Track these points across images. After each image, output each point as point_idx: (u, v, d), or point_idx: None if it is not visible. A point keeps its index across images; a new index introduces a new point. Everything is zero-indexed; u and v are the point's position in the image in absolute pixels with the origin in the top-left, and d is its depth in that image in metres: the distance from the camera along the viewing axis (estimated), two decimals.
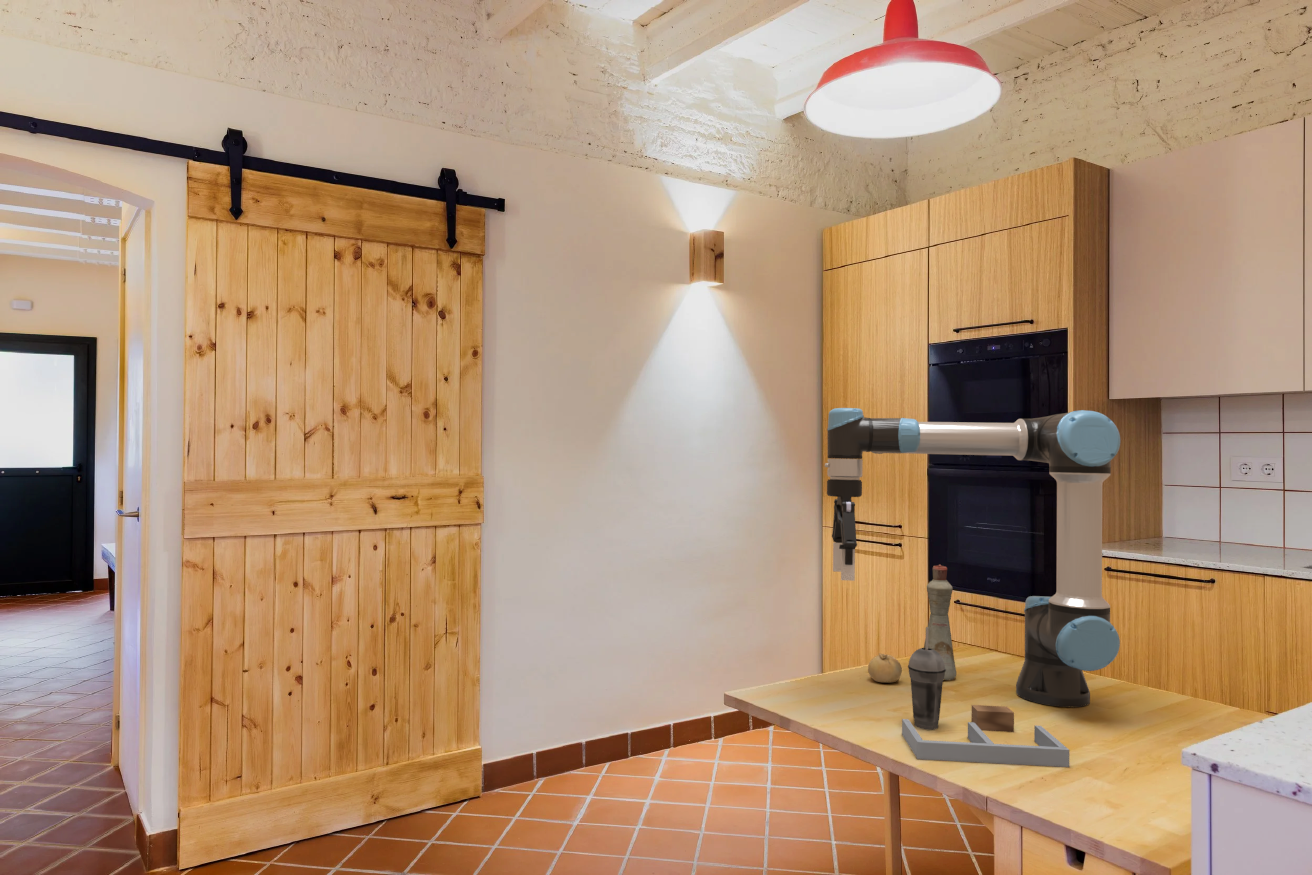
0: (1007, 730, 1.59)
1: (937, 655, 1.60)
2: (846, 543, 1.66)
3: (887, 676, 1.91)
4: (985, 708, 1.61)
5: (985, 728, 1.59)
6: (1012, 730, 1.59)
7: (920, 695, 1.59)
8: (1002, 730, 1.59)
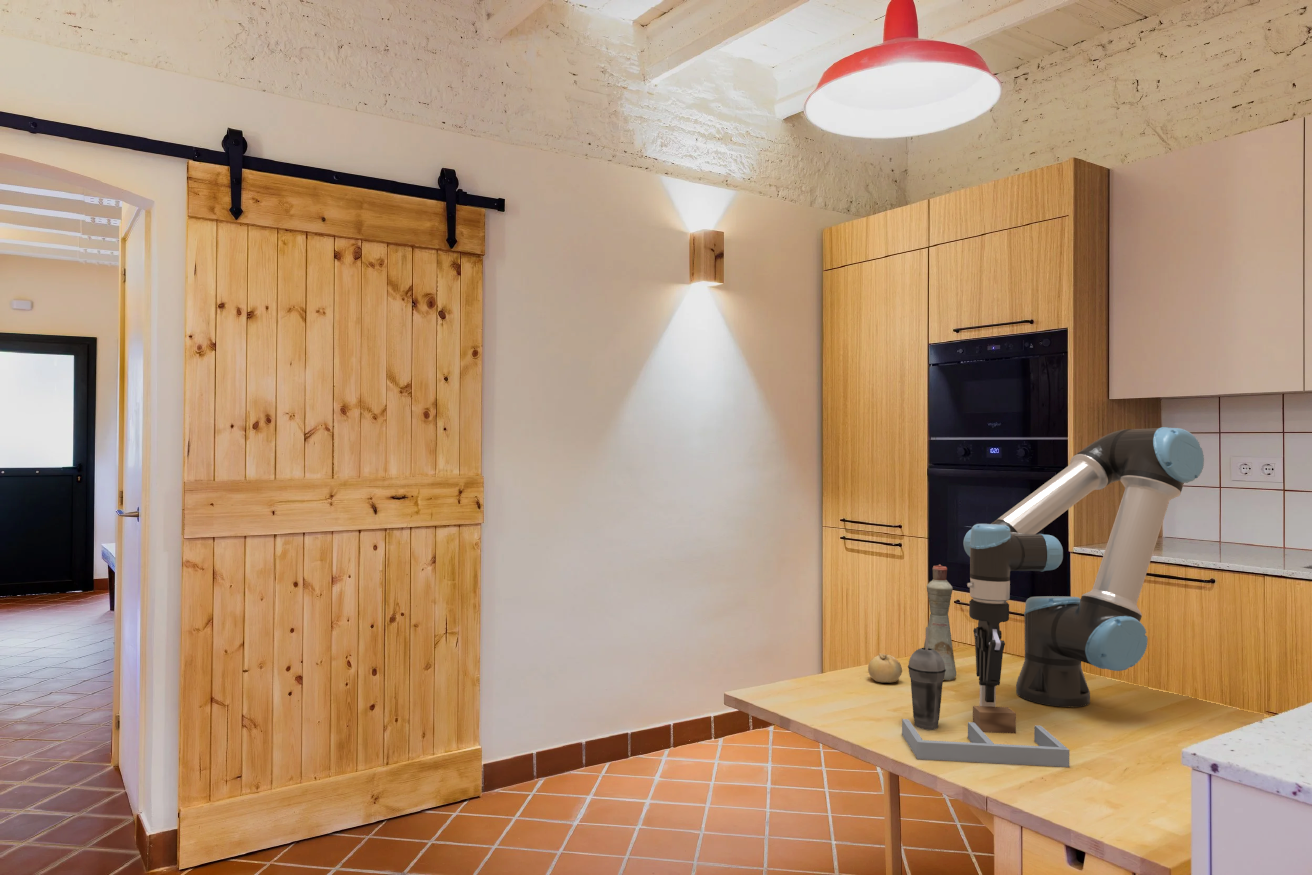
0: (1009, 731, 1.58)
1: (937, 655, 1.60)
2: (989, 683, 1.60)
3: (887, 676, 1.91)
4: (987, 709, 1.60)
5: (987, 729, 1.58)
6: (1014, 730, 1.58)
7: (920, 695, 1.59)
8: (1004, 731, 1.58)
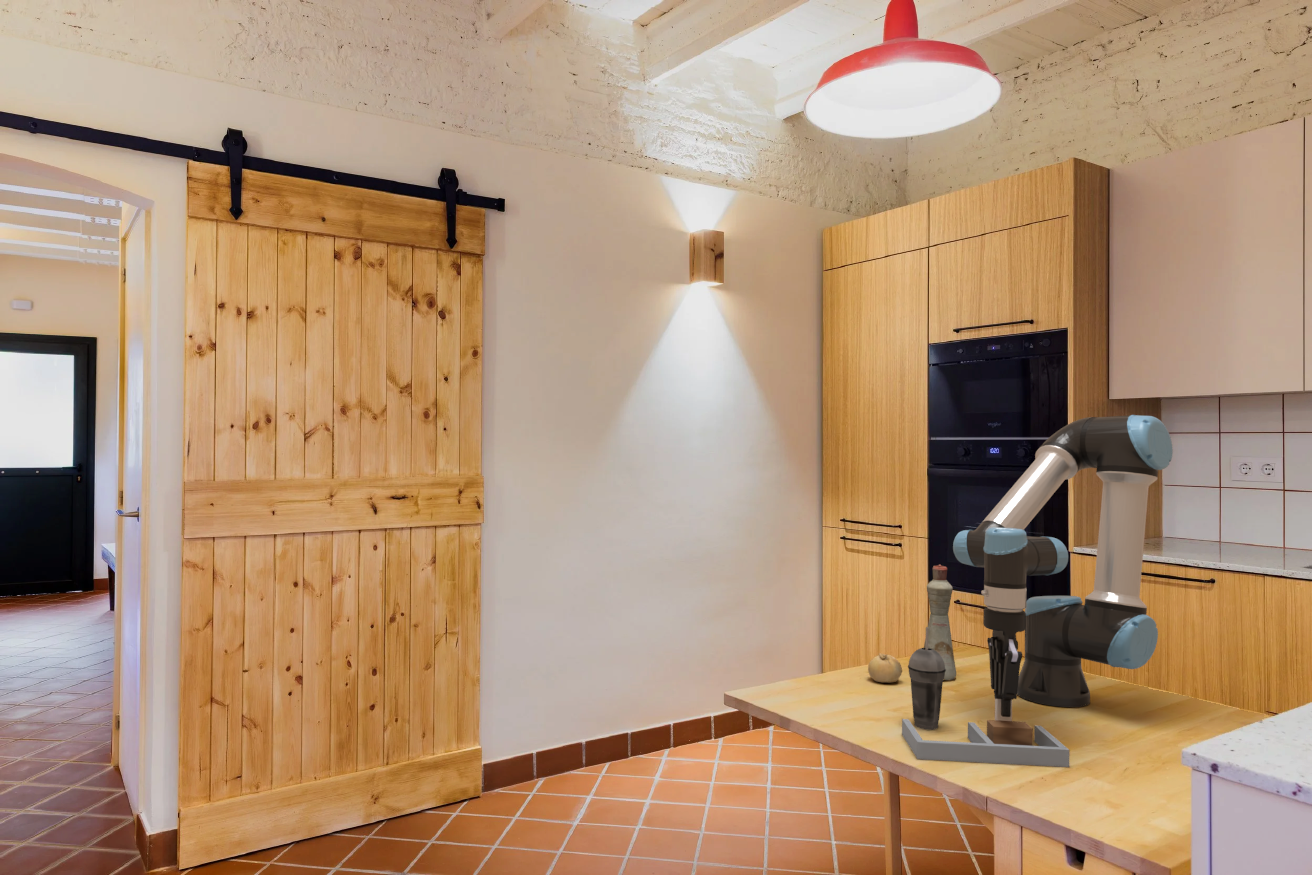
0: None
1: (937, 655, 1.60)
2: (1005, 696, 1.51)
3: (887, 676, 1.91)
4: (1002, 724, 1.51)
5: None
6: None
7: (920, 695, 1.59)
8: None
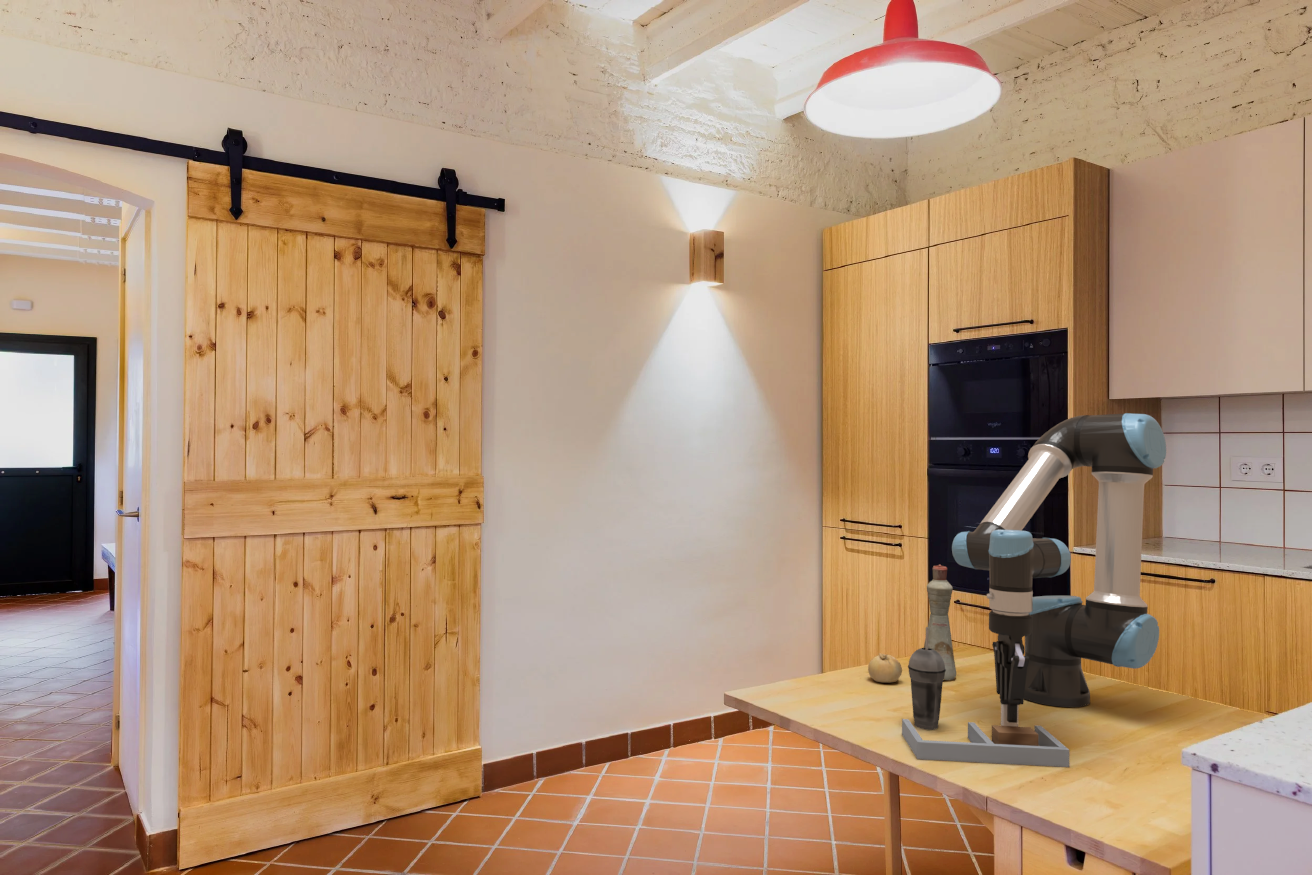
0: None
1: (937, 655, 1.60)
2: (1011, 702, 1.48)
3: (887, 676, 1.91)
4: (1007, 730, 1.48)
5: None
6: None
7: (920, 695, 1.59)
8: None
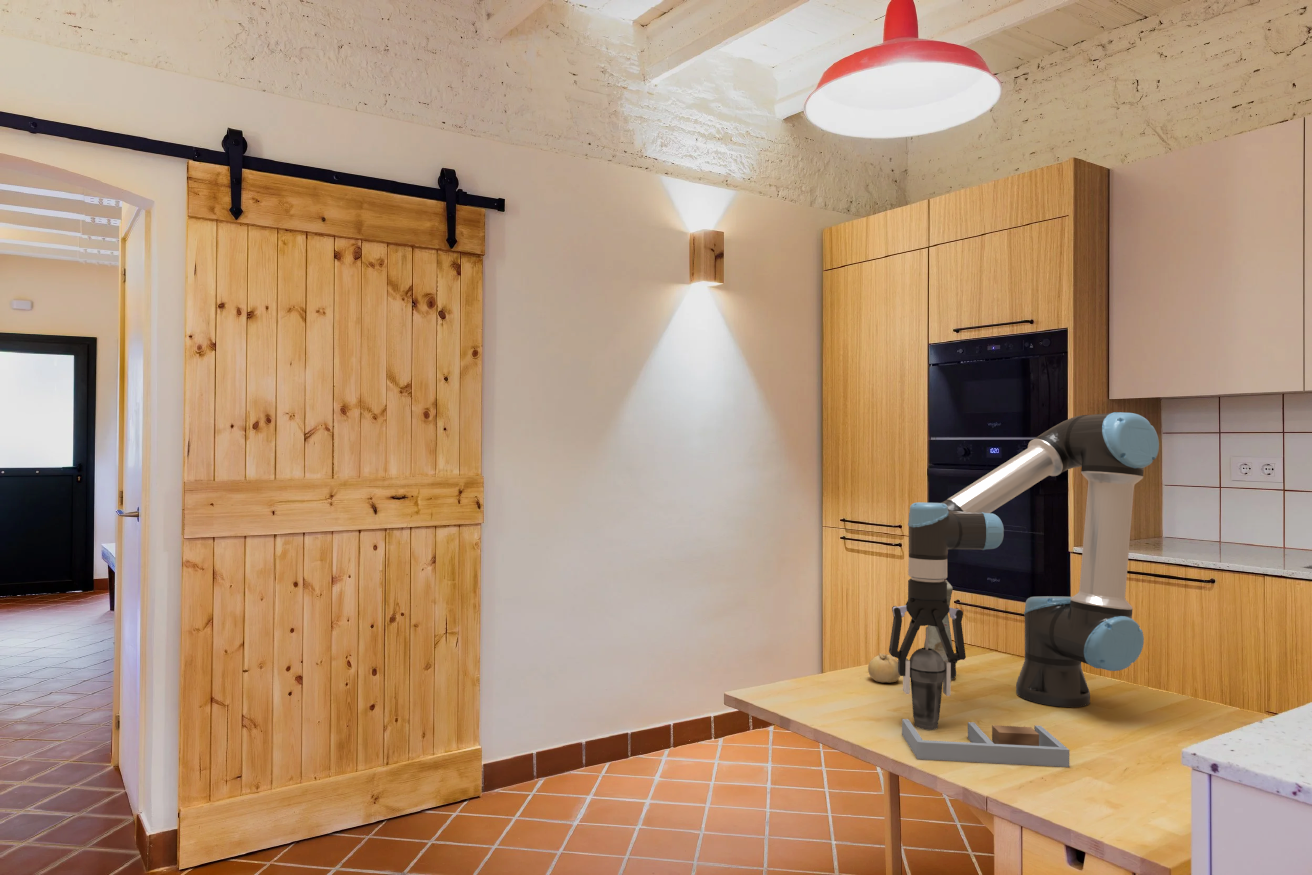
0: None
1: (937, 655, 1.60)
2: (889, 651, 1.63)
3: (887, 676, 1.91)
4: (1007, 729, 1.48)
5: None
6: None
7: (920, 695, 1.59)
8: None
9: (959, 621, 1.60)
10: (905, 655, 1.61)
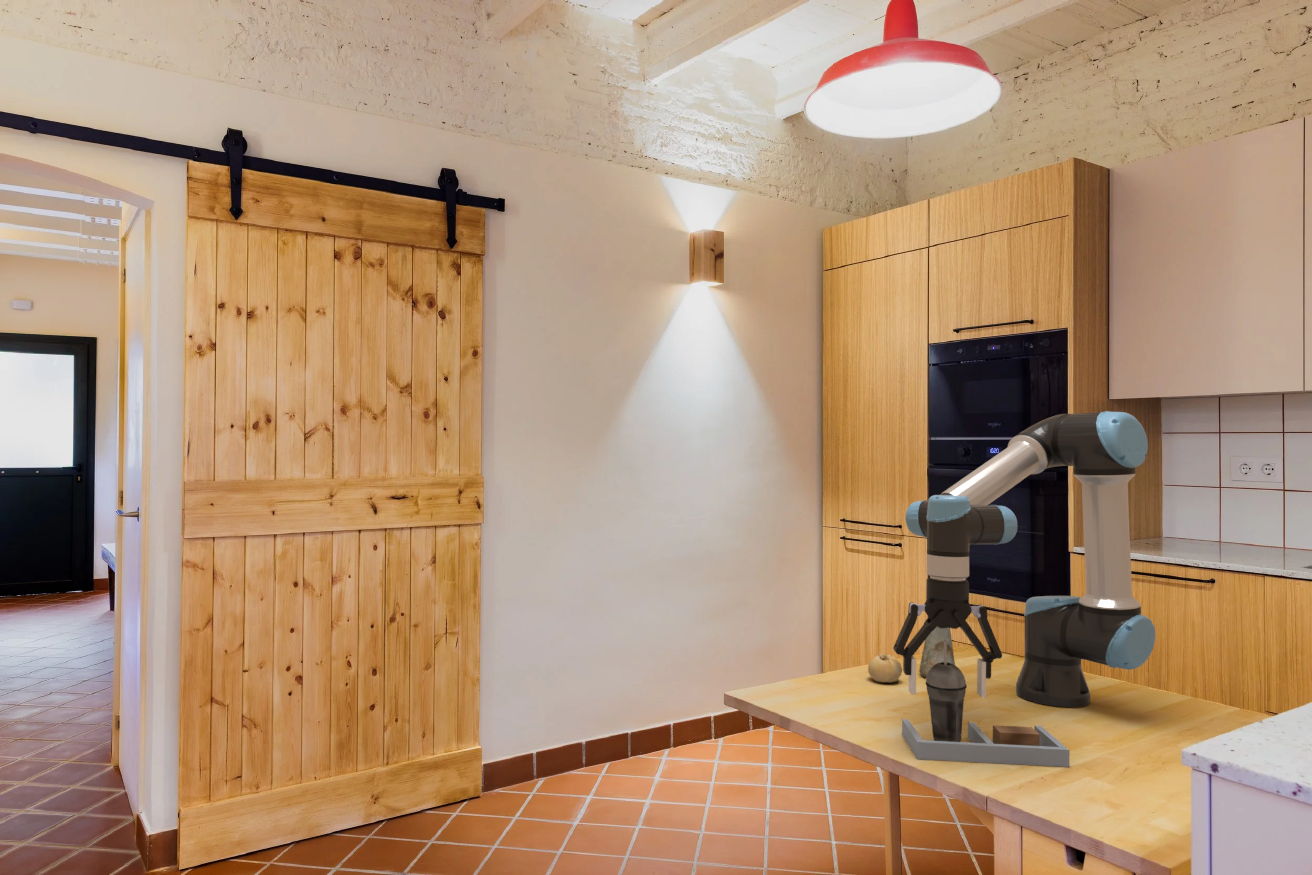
0: None
1: (957, 670, 1.48)
2: (893, 647, 1.52)
3: (887, 676, 1.91)
4: (1008, 729, 1.48)
5: None
6: None
7: (940, 714, 1.47)
8: None
9: (985, 619, 1.48)
10: (911, 653, 1.49)
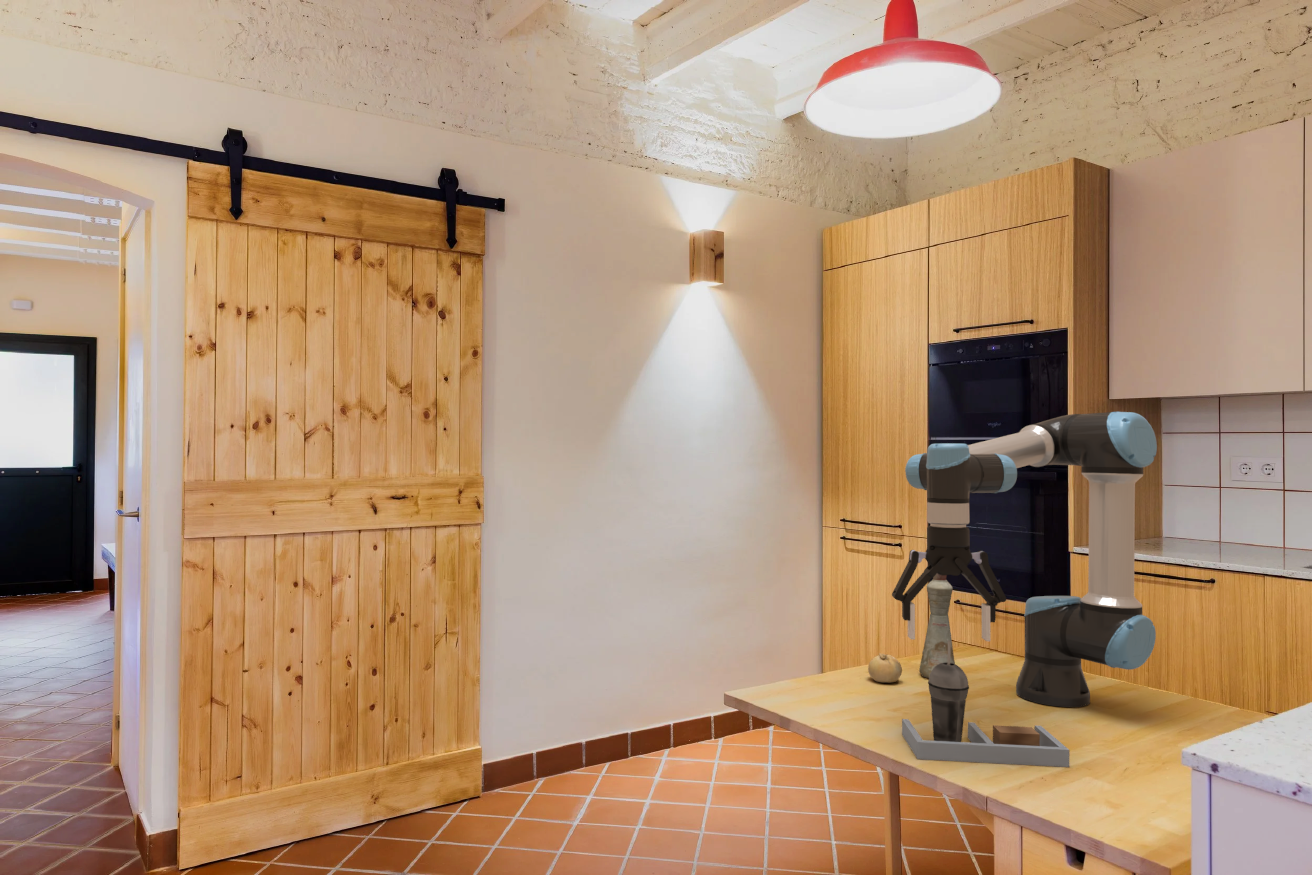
0: None
1: (960, 671, 1.48)
2: (892, 594, 1.52)
3: (887, 676, 1.91)
4: (1008, 729, 1.48)
5: None
6: None
7: (941, 714, 1.47)
8: None
9: (986, 564, 1.49)
10: (910, 599, 1.50)
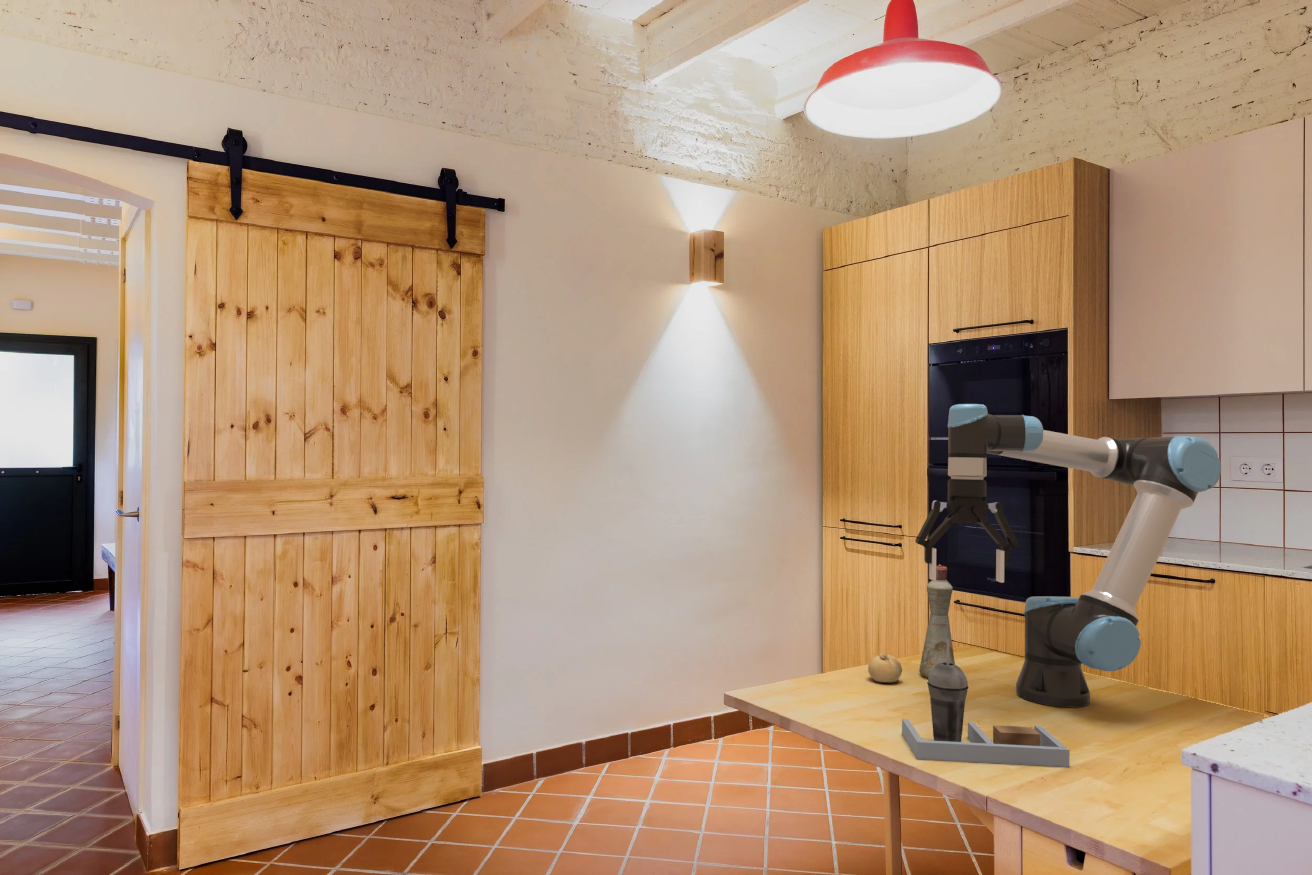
0: None
1: (959, 671, 1.48)
2: (915, 540, 1.68)
3: (887, 676, 1.91)
4: (1008, 729, 1.48)
5: None
6: None
7: (941, 714, 1.47)
8: None
9: (1001, 513, 1.65)
10: (932, 544, 1.66)
